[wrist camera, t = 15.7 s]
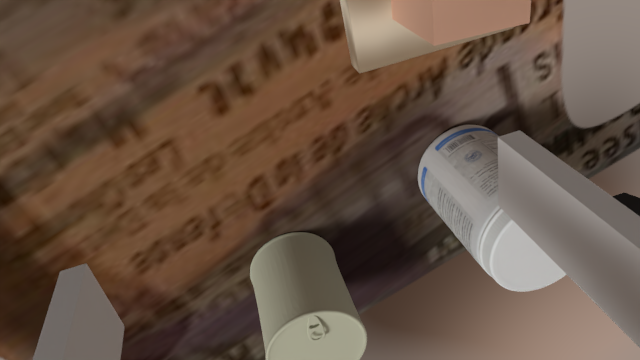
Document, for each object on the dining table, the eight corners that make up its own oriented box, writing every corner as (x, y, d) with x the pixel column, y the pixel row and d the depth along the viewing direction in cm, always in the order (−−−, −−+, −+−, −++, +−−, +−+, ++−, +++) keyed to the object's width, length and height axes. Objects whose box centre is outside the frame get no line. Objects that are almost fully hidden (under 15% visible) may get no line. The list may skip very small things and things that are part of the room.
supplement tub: (471, 210, 56) (554, 302, 43) (398, 193, 52) (466, 288, 40) (516, 133, 52) (621, 210, 40) (441, 108, 48) (530, 184, 36)
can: (330, 222, 52) (366, 303, 42) (338, 287, 57) (373, 374, 47) (241, 243, 51) (257, 332, 41) (258, 308, 56) (275, 402, 45)
